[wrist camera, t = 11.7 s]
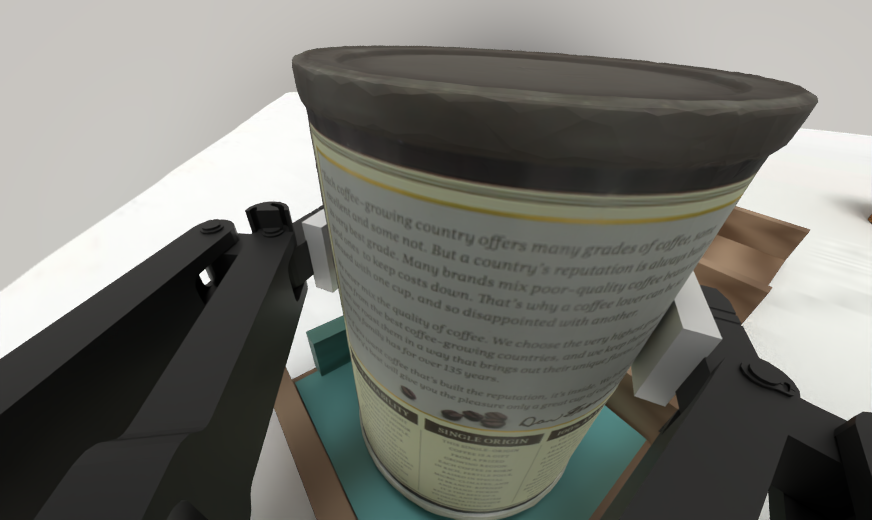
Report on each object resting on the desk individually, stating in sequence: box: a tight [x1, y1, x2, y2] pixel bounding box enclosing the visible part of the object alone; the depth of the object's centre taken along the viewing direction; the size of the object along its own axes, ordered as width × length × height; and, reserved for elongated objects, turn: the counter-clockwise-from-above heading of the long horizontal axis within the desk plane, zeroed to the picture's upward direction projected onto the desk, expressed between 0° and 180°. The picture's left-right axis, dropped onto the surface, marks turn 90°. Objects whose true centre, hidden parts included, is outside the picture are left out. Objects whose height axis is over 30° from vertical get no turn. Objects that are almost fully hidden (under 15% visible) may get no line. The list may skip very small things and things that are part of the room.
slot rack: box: [274, 206, 810, 520], centre depth 23 cm, size 14×43×4 cm, turn 127°
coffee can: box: [292, 46, 818, 520], centre depth 12 cm, size 10×10×14 cm
